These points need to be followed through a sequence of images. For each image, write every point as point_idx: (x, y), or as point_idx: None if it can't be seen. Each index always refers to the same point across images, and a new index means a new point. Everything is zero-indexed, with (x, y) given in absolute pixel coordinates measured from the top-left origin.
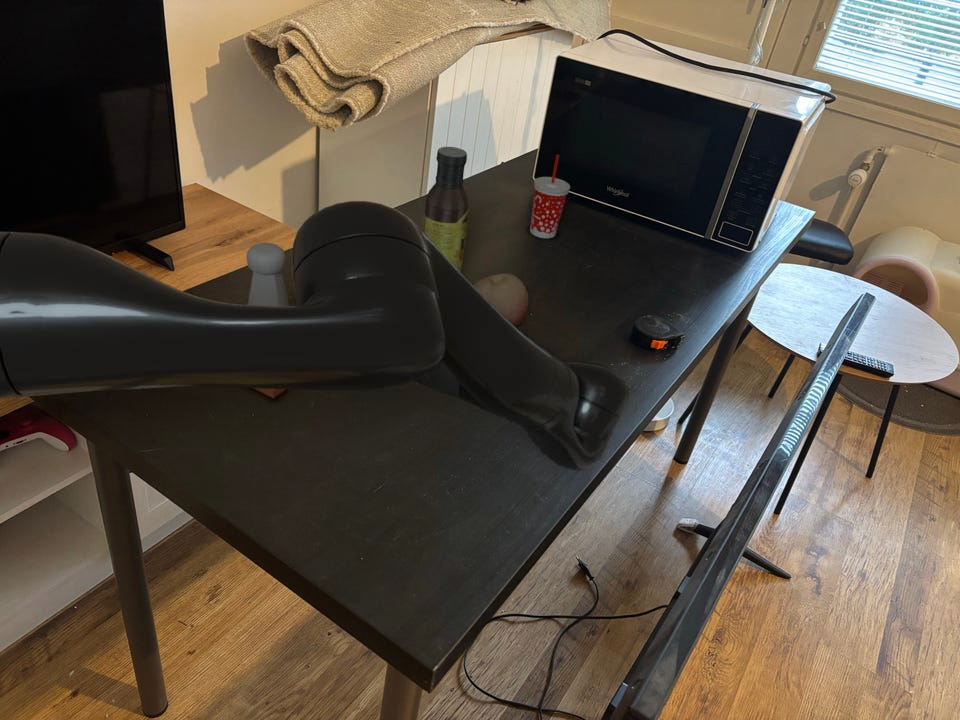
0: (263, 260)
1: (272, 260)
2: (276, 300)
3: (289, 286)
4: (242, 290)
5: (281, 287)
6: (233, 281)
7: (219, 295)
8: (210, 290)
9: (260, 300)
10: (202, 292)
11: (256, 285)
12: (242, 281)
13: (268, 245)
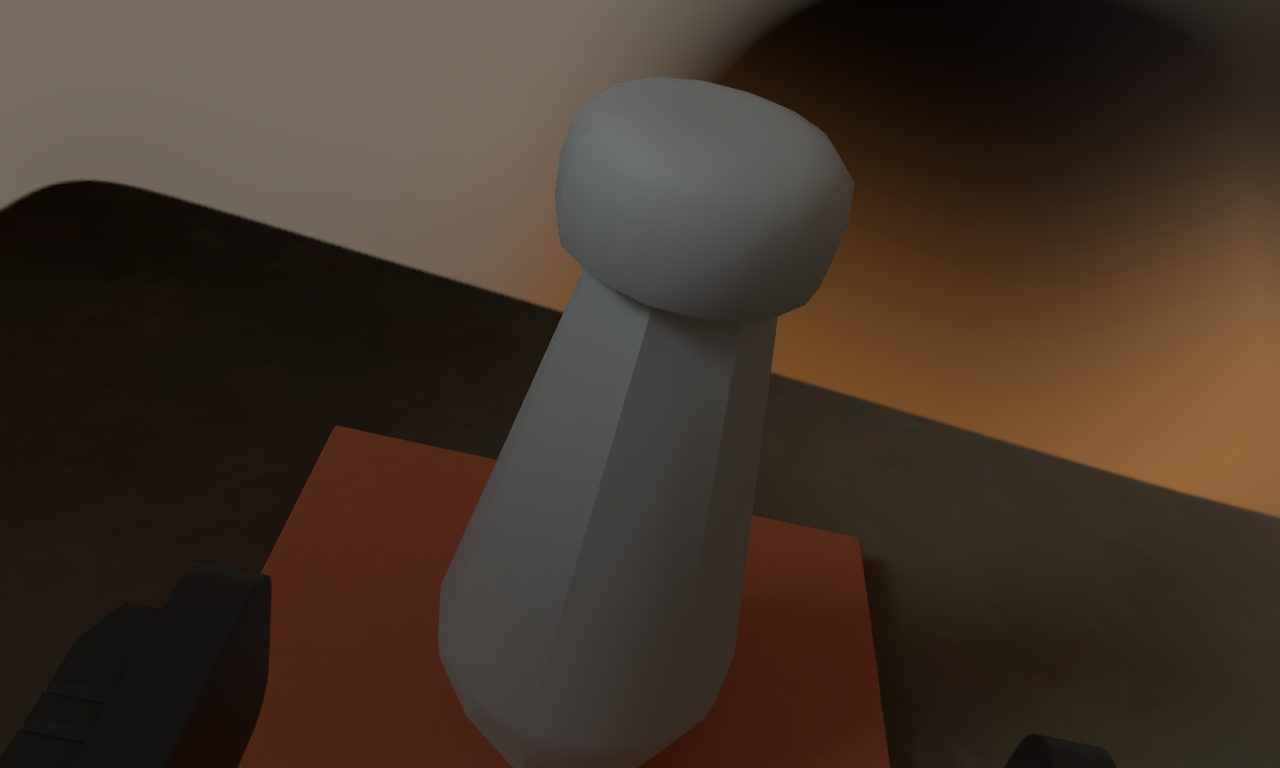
0: (600, 150)
1: (646, 184)
2: (588, 497)
3: (1049, 580)
4: (864, 456)
5: (675, 447)
6: (884, 414)
7: (771, 411)
8: (773, 381)
9: (521, 428)
10: None
11: (557, 327)
12: (912, 435)
13: (770, 116)
